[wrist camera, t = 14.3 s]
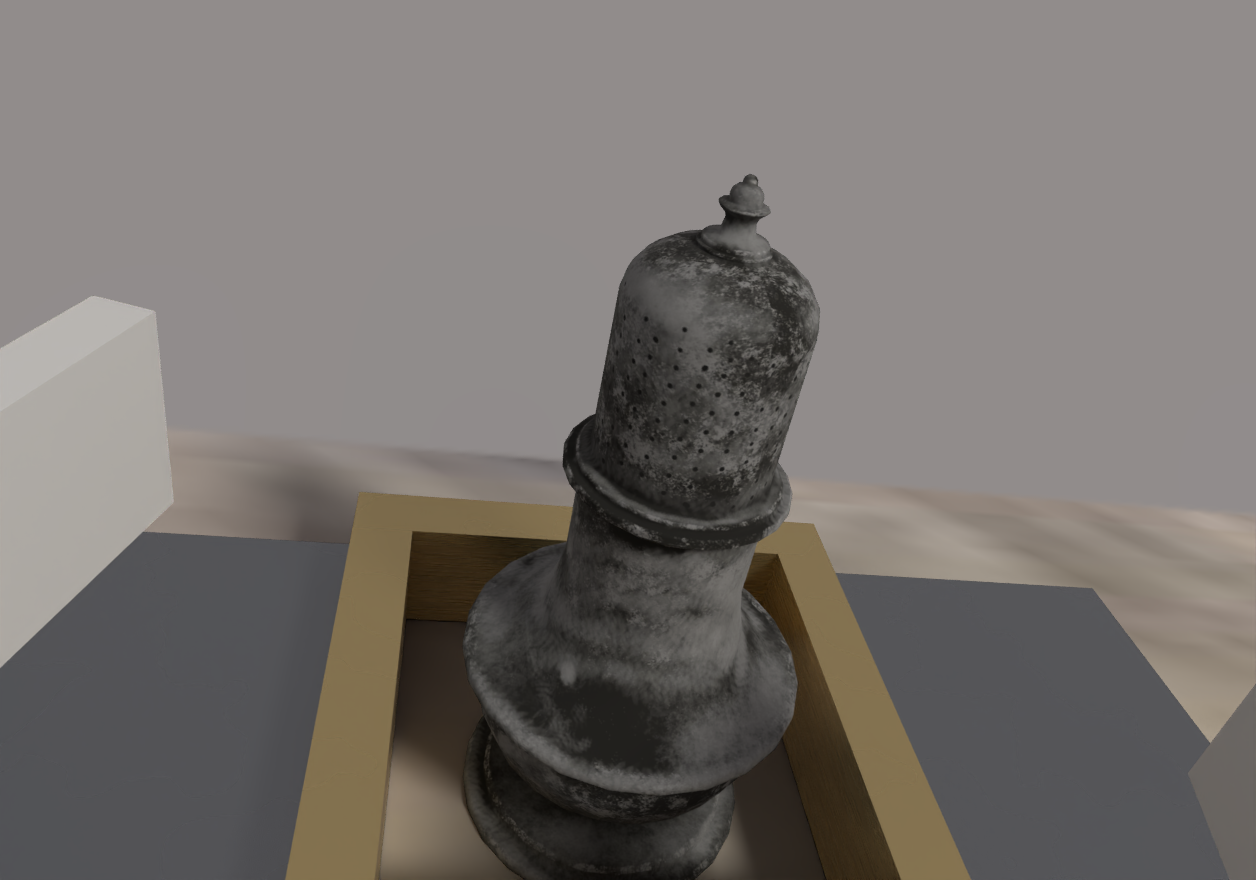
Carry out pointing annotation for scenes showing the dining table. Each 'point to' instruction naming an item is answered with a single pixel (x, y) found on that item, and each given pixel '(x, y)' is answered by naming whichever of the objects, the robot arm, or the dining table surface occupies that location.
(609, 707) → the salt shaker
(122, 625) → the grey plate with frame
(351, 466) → the dining table surface
